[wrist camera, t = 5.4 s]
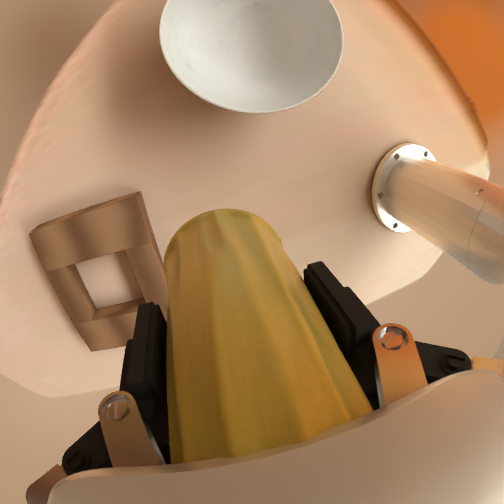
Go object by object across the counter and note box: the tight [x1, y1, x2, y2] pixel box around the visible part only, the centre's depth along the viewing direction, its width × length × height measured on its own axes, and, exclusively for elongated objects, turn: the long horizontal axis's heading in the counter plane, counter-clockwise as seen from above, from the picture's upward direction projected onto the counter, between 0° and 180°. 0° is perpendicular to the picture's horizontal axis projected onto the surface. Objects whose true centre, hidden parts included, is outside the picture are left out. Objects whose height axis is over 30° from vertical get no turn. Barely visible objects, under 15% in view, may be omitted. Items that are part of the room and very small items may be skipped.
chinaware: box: [159, 0, 344, 114], centre depth 20 cm, size 15×15×8 cm
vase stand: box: [29, 191, 167, 352], centre depth 31 cm, size 14×18×2 cm
